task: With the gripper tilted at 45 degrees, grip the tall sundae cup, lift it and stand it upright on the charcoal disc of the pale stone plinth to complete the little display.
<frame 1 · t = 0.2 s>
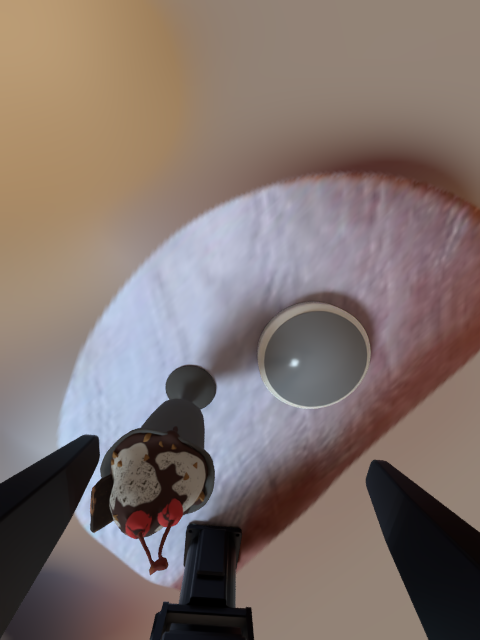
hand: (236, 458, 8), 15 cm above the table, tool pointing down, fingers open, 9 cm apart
sundae: (191, 386, 24), on the table
plinth: (309, 353, 23), on the table
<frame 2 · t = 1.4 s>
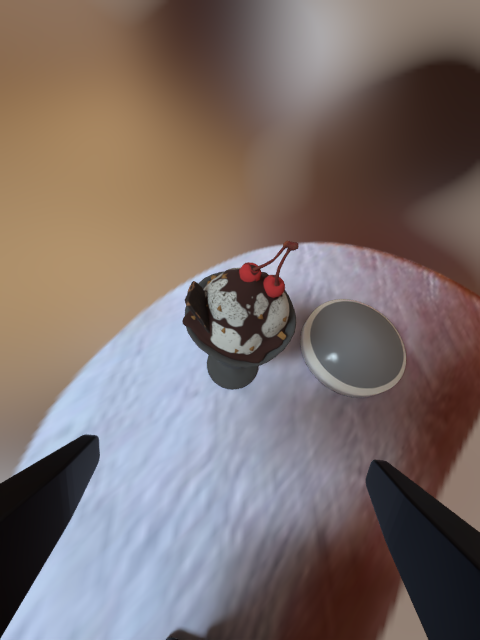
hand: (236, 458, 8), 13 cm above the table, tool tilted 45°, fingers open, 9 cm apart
sundae: (232, 363, 23), on the table
plinth: (347, 348, 25), on the table
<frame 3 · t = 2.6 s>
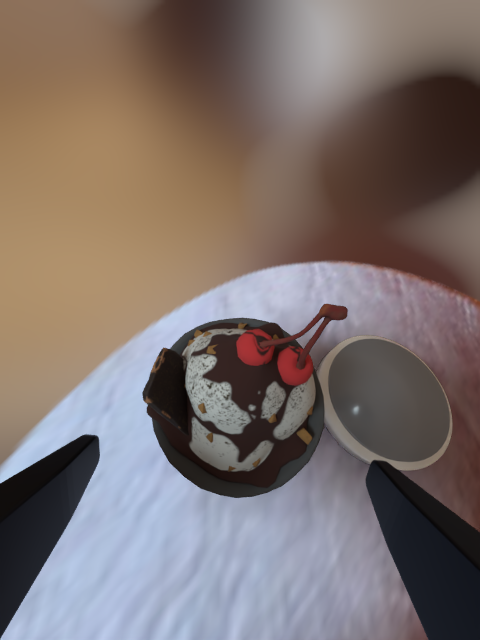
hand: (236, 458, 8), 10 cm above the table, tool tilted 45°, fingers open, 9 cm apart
sundae: (229, 422, 18), on the table
plinth: (373, 398, 20), on the table
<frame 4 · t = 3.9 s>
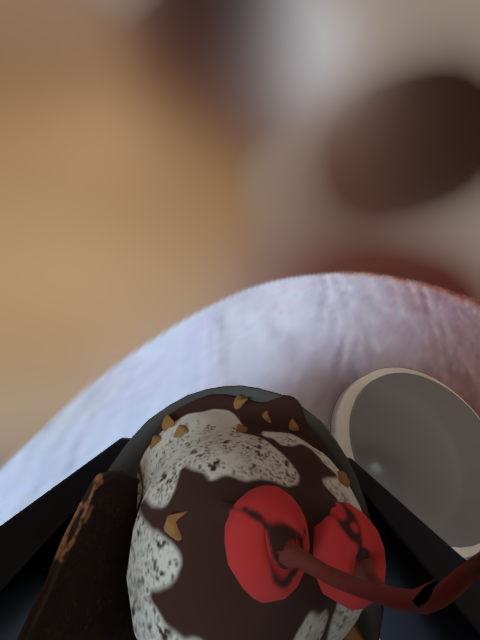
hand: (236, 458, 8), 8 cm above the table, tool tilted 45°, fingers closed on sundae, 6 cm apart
sundae: (224, 483, 14), on the table, touching gripper
plinth: (404, 447, 16), on the table
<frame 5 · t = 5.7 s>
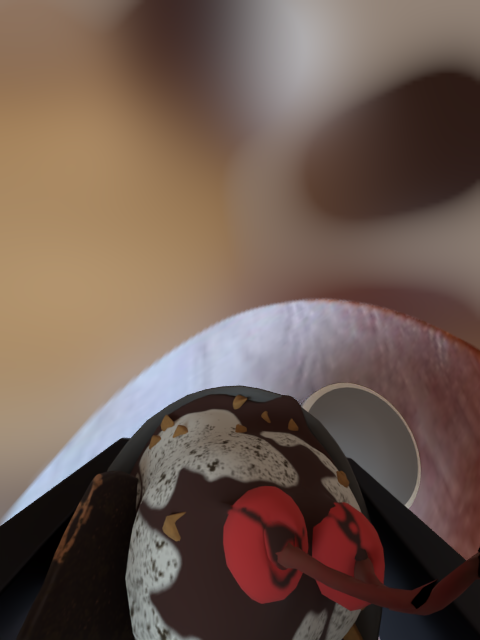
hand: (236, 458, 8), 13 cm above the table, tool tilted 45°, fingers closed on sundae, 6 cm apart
sundae: (224, 482, 14), point 5 cm above the table, touching gripper
plinth: (348, 445, 21), on the table
when the fingers open (11 cm above the table, at t = 7.7 s): sundae stays where it is, resting on plinth.
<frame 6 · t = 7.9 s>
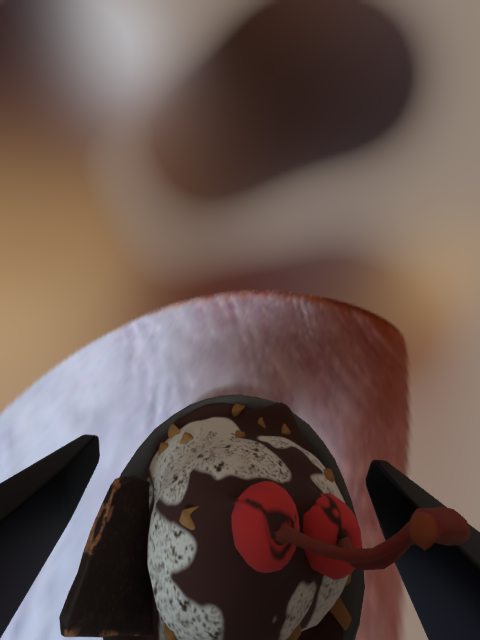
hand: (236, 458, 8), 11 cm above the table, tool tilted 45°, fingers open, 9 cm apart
sundae: (221, 485, 15), point 2 cm above the table, touching plinth
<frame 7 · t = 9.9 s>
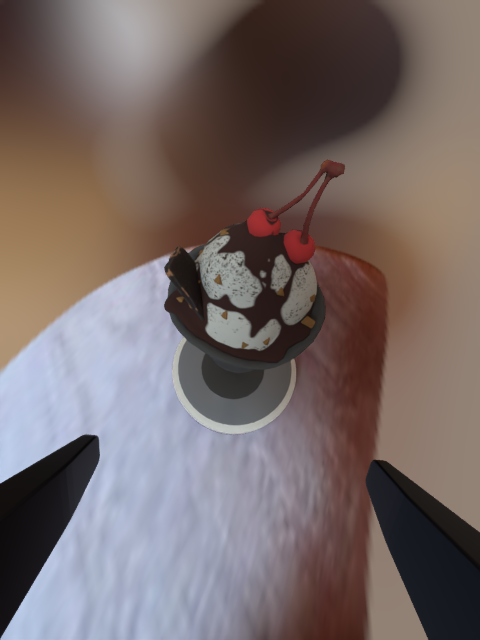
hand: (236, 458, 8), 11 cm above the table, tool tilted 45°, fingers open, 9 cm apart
sundae: (233, 367, 19), point 2 cm above the table, touching plinth
plinth: (234, 371, 21), on the table
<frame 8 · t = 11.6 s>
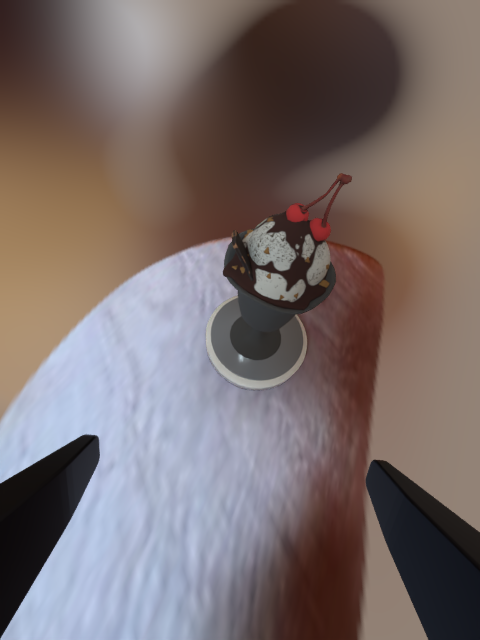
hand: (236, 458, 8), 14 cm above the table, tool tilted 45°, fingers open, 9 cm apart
sundae: (255, 336, 23), point 2 cm above the table, touching plinth
plinth: (254, 341, 25), on the table
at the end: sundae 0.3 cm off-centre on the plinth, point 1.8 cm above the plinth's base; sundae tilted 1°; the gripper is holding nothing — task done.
